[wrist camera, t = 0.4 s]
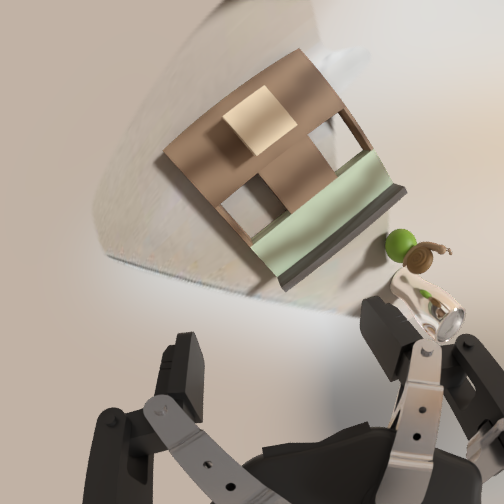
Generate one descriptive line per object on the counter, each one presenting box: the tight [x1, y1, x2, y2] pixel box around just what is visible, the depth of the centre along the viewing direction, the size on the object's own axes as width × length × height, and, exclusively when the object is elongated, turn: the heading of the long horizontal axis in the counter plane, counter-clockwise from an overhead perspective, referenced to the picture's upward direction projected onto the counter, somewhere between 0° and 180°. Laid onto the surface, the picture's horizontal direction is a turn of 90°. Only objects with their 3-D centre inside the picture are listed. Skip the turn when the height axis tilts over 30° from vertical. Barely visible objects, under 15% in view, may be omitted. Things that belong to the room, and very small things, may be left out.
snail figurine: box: [385, 229, 452, 274], centre depth 35 cm, size 5×6×12 cm
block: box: [222, 85, 297, 156], centre depth 29 cm, size 6×6×3 cm
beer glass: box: [390, 267, 466, 344], centre depth 37 cm, size 7×7×15 cm
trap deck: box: [163, 48, 407, 292], centre depth 32 cm, size 24×22×6 cm
